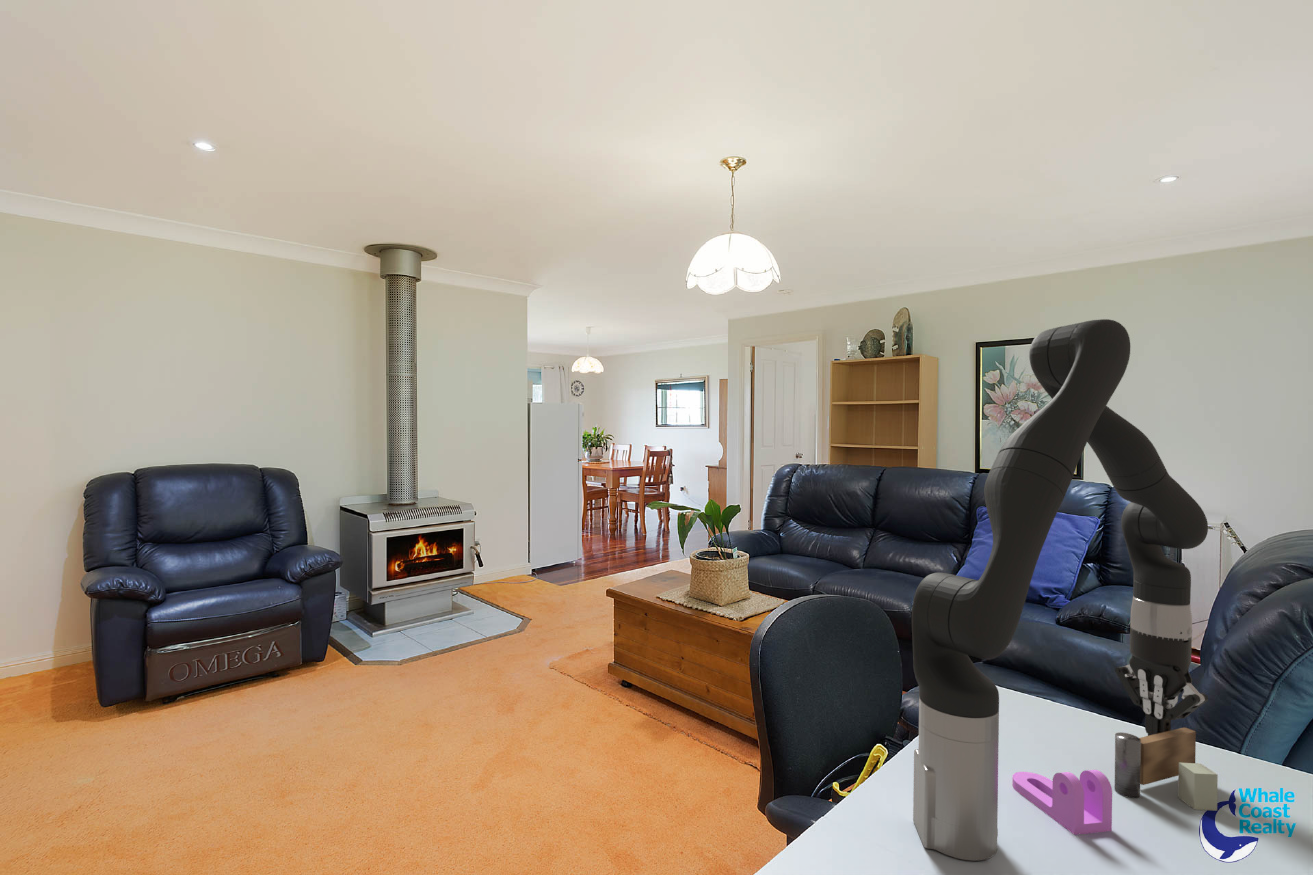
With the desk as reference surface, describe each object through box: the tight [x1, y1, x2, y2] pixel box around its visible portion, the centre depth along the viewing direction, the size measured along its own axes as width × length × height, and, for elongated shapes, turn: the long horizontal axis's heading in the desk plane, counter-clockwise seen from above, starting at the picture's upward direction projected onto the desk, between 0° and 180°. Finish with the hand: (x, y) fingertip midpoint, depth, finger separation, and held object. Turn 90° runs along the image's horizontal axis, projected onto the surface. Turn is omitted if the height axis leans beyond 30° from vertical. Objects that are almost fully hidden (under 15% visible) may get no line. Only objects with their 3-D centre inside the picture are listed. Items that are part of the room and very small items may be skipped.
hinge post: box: [1114, 732, 1141, 799], centre depth 93 cm, size 3×3×8 cm
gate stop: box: [1177, 762, 1219, 811], centre depth 91 cm, size 3×3×5 cm
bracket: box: [1011, 769, 1113, 836], centre depth 90 cm, size 13×6×7 cm, turn 10°
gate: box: [1139, 727, 1197, 786], centre depth 96 cm, size 12×2×6 cm, turn 111°
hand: (1157, 739), depth 100 cm, fingers closed
